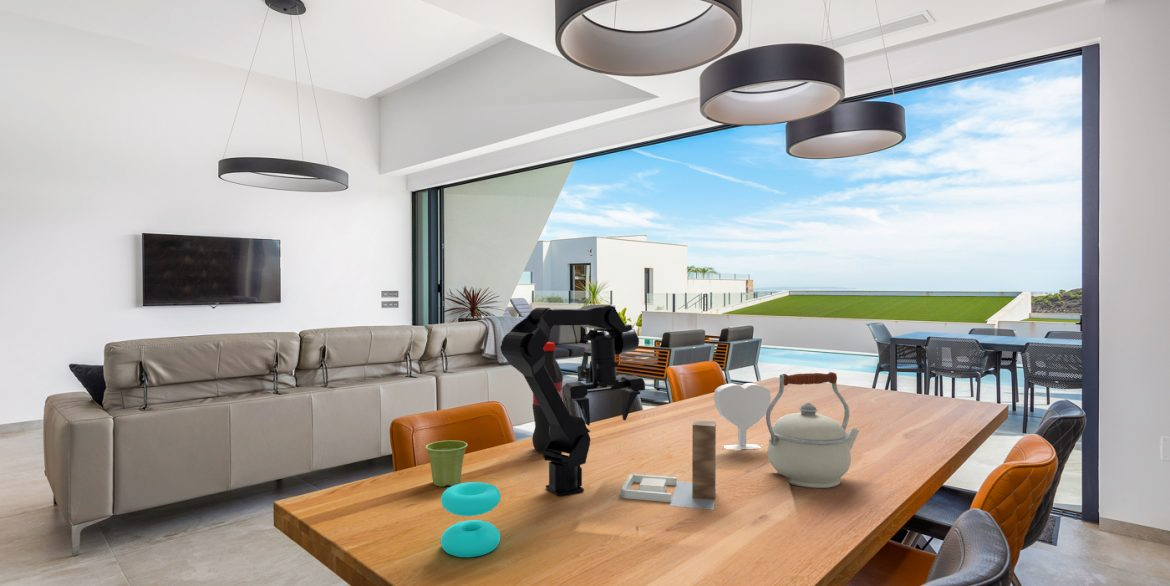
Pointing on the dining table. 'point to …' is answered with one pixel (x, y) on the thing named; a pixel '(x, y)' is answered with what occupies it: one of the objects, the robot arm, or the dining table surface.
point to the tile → (653, 485)
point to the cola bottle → (541, 421)
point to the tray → (646, 494)
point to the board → (689, 498)
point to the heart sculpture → (742, 408)
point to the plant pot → (446, 461)
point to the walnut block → (704, 460)
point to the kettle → (810, 439)
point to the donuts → (472, 533)
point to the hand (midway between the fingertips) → (606, 422)
